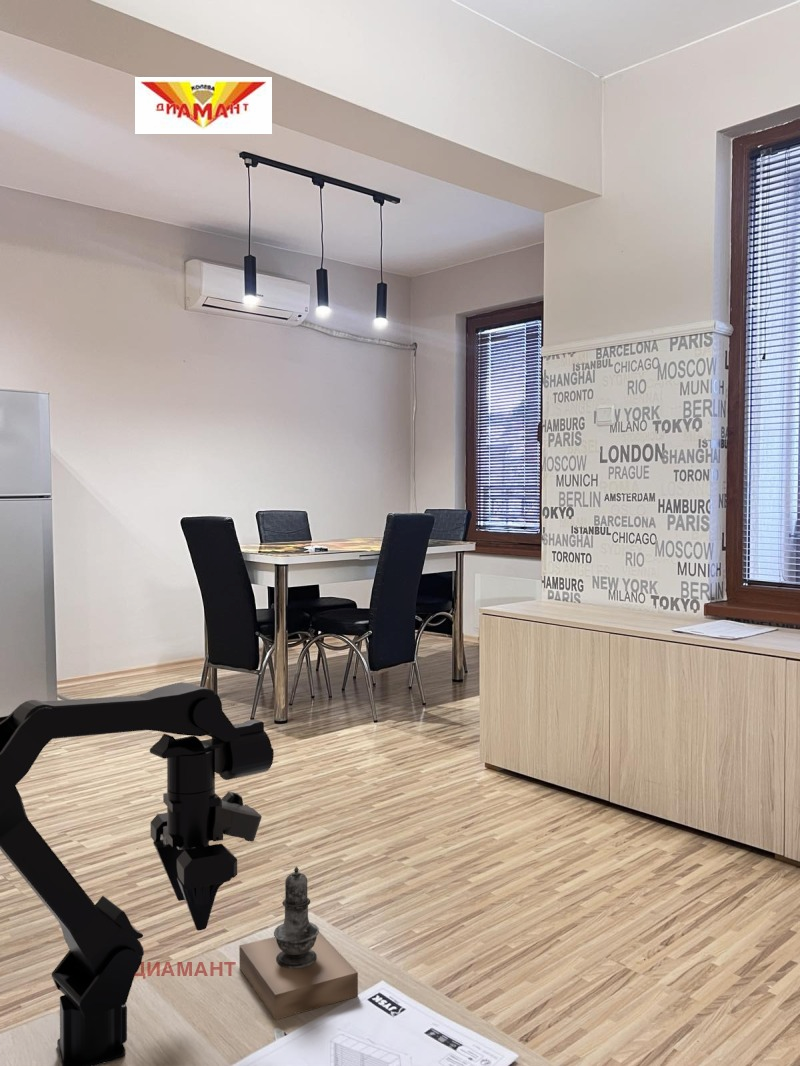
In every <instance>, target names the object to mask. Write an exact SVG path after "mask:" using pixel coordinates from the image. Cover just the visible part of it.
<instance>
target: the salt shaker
mask: <svg viewBox="0 0 800 1066" xmlns="http://www.w3.org/2000/svg"><path fill="white" fill-rule="evenodd" d="M299 871H300V868H298V866H295V867H294V869H293V872H292V873H290V874H288V875H287V876H286V877H285V882H284V883H285V885H284V888H285V889H284V891H285V892H284V894H285V895H284V896H285V898H284V899H283V900H282V906H283V907H284V919H283V923H281V924H280V925H278V926H276V928H275V929H274V931H273V937H275V938H276V941H277V944H278V946H279V948H280V949H281V950H282V952H280V953H279V954H278V955H277V957H276V962H277V963H278V964H279V965H280V966H282V967H284V968H289V969H298V968H304V967H307V966H310V965H311V964H313V963H314V962H315V961H316V959H317V955H316V953H315V952H314V951H312V950H311V948H312V947H313V946H314V944H315V941H316V938H317V935H318V933H319V932H320V930H319V929H320V928H319V926H318V925H316V924H315V923H313V922H310V919H309V905H311V899H310V898H308V878H307V876H306V875H305V874H304V873H301V872H299Z"/></svg>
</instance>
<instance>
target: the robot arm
mask: <svg viewBox="0 0 800 1066" xmlns="http://www.w3.org/2000/svg"><path fill="white" fill-rule="evenodd" d="M222 703H223V702H222V700H221V698H220V696H219V695H218V694H217V693H216V691H215V690H213V689H211V688H207V687H203V686H199V685H196V684H192V683H189V682H183V681H181V682H176V683H172V684H168V685H164V686H160V687H156V688H154V689H151V690H150V691H148V692H144V693H141V694H137V695H125V696H123V695H121V696H108V697H106V696H105V697H91V698H77V699H61V700H57V699H56V700H45V701H44V700H43V701H41V700H37V699H29V700H26V701H24V702H22V703H21V704H19V705H18V706H16V708H15V709H14V710H13V711H12V712H11V713H9V715H8V716H7V717H6V718H4V719H3V720H1V721H0V851H1V853H2V855H4V857H5V858H6V859H7V860H8V862H10V864H11V865H12V866H13V867H14V869H15V871H17V872H18V874H19V875H20V876H21V878H22V879H23V880H24V881H25V882H26V884H28V886H29V887H30V889H31V890H32V891H33V892H34V894H36V896H37V897H38V898H39V899H40V901H41V902H42V903H43V904H44V906H45V907H46V908H47V910H48V911H49V912H50V913H51V914H52V915H53V917H54V918H55V919H56V920H57V922H58V924H59V925H60V928H61V932H62V935H63V938H64V942H65V943H66V944H67V947H68V949H69V950H68V952H67V953H66V954H65V955H64V957H63V958H61V960H60V962H59V963H58V965H57V966H56V967H55V968H54V970H53V971H52V972H51V978H52V980H53V983H54V985H55V987H56V989H57V990H58V991H60V992H61V993H62V994H63V995H60V996H59V1038H58V1039H57V1042H56V1043H57V1049H58V1054H59V1057H60V1063H61V1066H98V1065H103V1064H106V1063H108V1062H112V1061H116V1060H119V1059H122V1058H125V1056H126V1049H125V1045H124V1044H125V1043H127V1041H128V1007H127V1002H128V999H129V995H130V991H131V988H132V985H133V982H134V979H135V975H136V973H138V971H139V969H140V967H141V964H142V961H143V956H144V955H145V952H144V951H145V950H144V947H143V945H142V943H141V942H140V940H139V939H142V938H143V937H144V934H143V933H142V932H140V931H139V930H138V929H137V928H135V927H134V926H132V924H131V921H130V919H129V917H128V915H127V914H126V913H125V911H124V910H123V909H122V908H120V907H119V906H117V905H116V904H115V903H114V902H112V901H111V900H110V899H109V898H108V897H106V896H104V895H102V896H101V897H100V898H99V900H98V901H97V902H96V903H94V901H93V900H92V899H91V898H90V897H89V895H88V893H86V891H85V890H84V889H83V887H82V886H81V885H80V884H79V882H78V881H77V880H76V878H74V876H73V874H72V873H71V872H70V871H69V869H68V868H67V867H66V866H65V865H64V863H63V862H62V861H61V859H60V858H59V857H58V856H57V854H56V853H55V851H53V849H52V848H51V847H50V845H49V844H48V843H47V841H46V840H45V839H44V838H43V836H42V835H41V834H40V833H39V831H38V830H37V829H36V828H35V826H34V825H33V823H32V822H31V821H30V820H29V818H28V815H27V813H26V812H27V811H26V809H25V806H24V802H23V799H22V797H21V794H20V792H19V790H18V788H17V786H16V785H17V784H18V783H20V781H21V780H23V778H24V777H25V776H26V775H27V774H28V773H29V771H30V770H31V768H32V766H33V765H34V764H35V762H36V760H37V759H38V757H39V755H40V754H41V752H42V751H43V749H44V748H45V746H47V745H48V744H49V742H51V741H52V740H56V739H64V738H65V739H66V738H74V737H75V738H76V737H84V736H85V737H86V736H97V735H106V734H107V735H108V734H119V733H129V732H131V733H132V732H142V731H152V732H153V731H154V732H160V733H163V734H162V736H161V737H160V739H159V740H157V742H155V744H153V745H152V746H151V747H150V749H149V753H150V754H152V755H154V756H155V757H156V756H157V757H159V758H162V759H166V768H167V770H166V772H167V773H166V776H167V777H166V792H165V793H163V796H162V797H163V798H162V799H163V803H164V804H165V806H166V812H163V813H157V814H156V815H155V817H154V818H153V819H152V820H151V821H150V838H151V840H153V843H152V844H153V847H154V848H155V850H156V852H157V854H158V858H159V859H160V861H161V863H162V867H163V868H164V871H165V873H166V876H167V879H168V880H169V884H170V885H171V887H172V890H173V892H174V895H175V897H176V899H177V901H178V902H181V901H185V904H186V905H187V909H188V912H189V914H190V916H191V919H192V922H193V924H194V927H195V929H196V931H203V930H206V929H207V927H208V924H209V920H210V917H211V913H212V909H213V906H214V902H215V899H216V896H217V893H218V890H219V889H220V888H221V886H222V885H223V884H224V883H227V882H230V881H231V880H232V879H234V878H235V877H237V876H238V858H237V857H236V856H235V855H234V853H233V852H232V851H230V849H228V848H227V847H226V846H225V845H224V844H222V843H216V844H210V842H211V841H212V842H218V841H223V840H224V835H225V836H229V837H235V838H240V839H243V840H245V841H247V842H254V841H255V839H256V835H257V832H258V829H259V828H260V823H261V820H262V817H263V816H262V815H261V814H260V813H259V812H258V811H257V810H256V809H255V808H253V807H250V806H249V805H248V804H244V802H243V801H244V800H243V796H242V795H240V794H239V793H238V792H234V791H233V792H232V791H227V792H226V794H225V795H224V796H223V797H220V796H219V795H218V794H217V793H216V779H215V778H216V774H218V775H219V776H220V778H222V779H223V780H225V781H230V780H234V779H239V778H243V777H249V776H252V775H257V774H262V773H266V772H268V771H269V770H270V769H271V767H272V765H273V761H274V753H275V752H274V747H272V746H273V745H272V743H271V740H270V739H271V738H270V737H269V735H268V734H267V732H266V731H265V723H264V721H262V720H258V719H255V718H254V719H250V720H246V721H244V722H241V723H235V724H233V723H232V722H231V720H230V719H229V718H228V716H227V715H226V713H225V712H224V711H223V704H222ZM170 734H174V735H180V736H185V737H178V738H175V737H174V736H173V735H170ZM204 736H208V737H211V738H209V739H204V740H203V739H202V740H200V739H199V737H204Z"/></svg>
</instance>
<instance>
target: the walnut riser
mask: <svg viewBox="0 0 800 1066" xmlns="http://www.w3.org/2000/svg"><path fill="white" fill-rule="evenodd" d="M238 947H239V969H240V968H241V969H240V970H241V972H242V973H243V975H244V976H245V978H246V979H247V980H248V982H249V984H250V985H251V986H252V988H253V989H254V991H255V992H256V994H257V995H258V996H259V998H260V999H261V1001H262V1003H263V1005H265V1007H266V1008H267V1010H268V1011H269V1013H270V1014H271V1016H272V1017H273V1019H274V1020H279V1019H282V1018H286V1017H290V1016H293V1015H297V1014H300V1013H304V1012H307V1011H310V1010H314V1009H318V1008H322V1007H325V1006H329V1005H331V1004H335V1003H338V1002H342V1001H346V1000H349V999H352V998H356V997H358V995H359V972H358V971H357V970H356V968H354V967H353V966H352V964H351V963H350V962H349V961H348V960H347V959H346V958H345V957H344V955H342V954H341V953H340V951H338V950H337V948H335V946H334V945H332V943H330V941H329V940H328V939H327V937H325V936H324V935H323V934H322V933H321V931H319V933H318V935H317V938H316V941H315V944H314V946H313V947H312V948H311V950H312V951H314V952H315V953H316V955H317V959H316V961H315V962H314V963H313V964H311V965H310V966H307V967H304V968H298V969H289V968H284V967H282V966H280V965H279V964H278V963H277V962H276V957H277V955H278V954H279V953H280V952H282V950H281V949H280V948H279V946H278V944H277V941H276V938H275V936H273V937H269V938H264V939H259V940H257V941H256V940H255V941H251V942H248V943H244V944H240V945H239V946H238Z"/></svg>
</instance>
